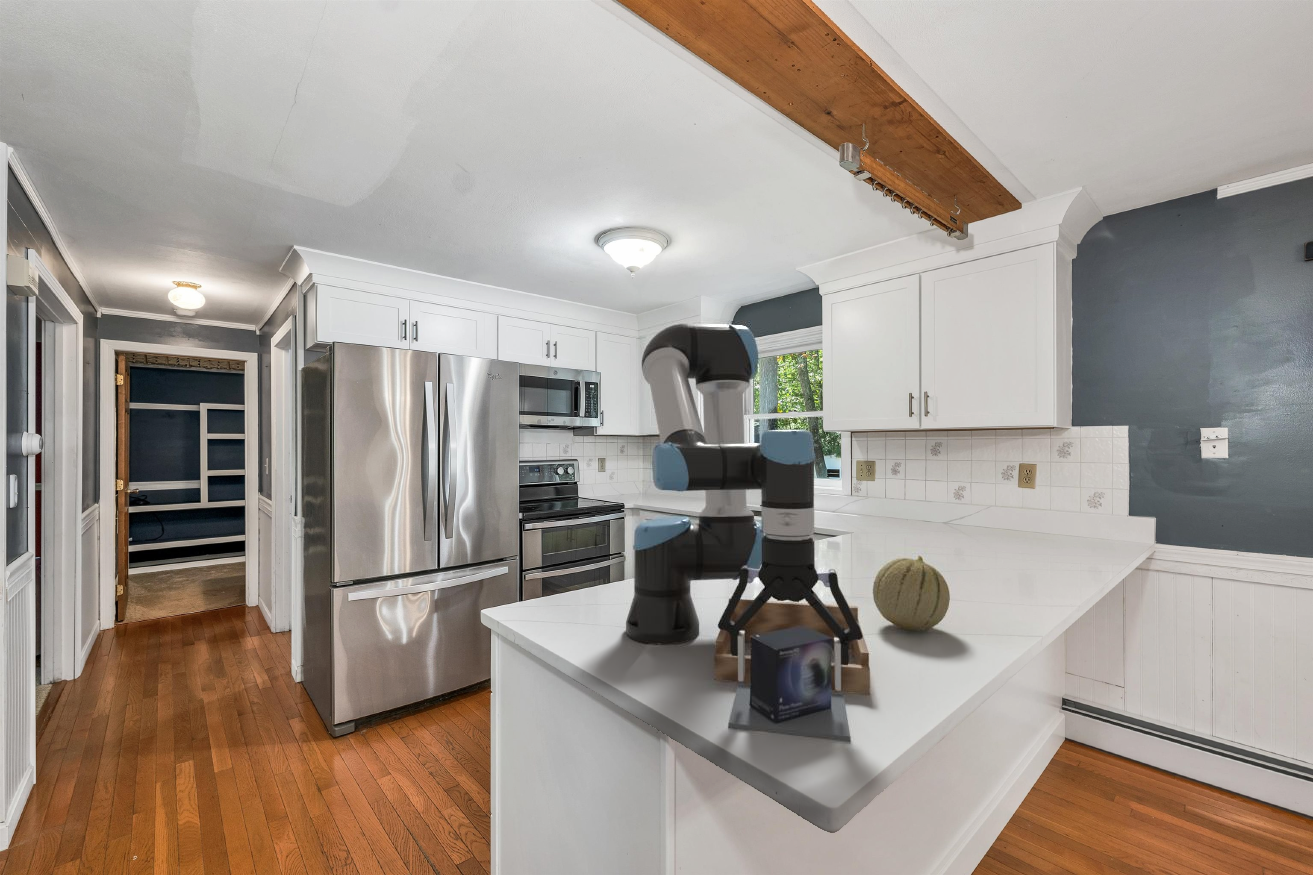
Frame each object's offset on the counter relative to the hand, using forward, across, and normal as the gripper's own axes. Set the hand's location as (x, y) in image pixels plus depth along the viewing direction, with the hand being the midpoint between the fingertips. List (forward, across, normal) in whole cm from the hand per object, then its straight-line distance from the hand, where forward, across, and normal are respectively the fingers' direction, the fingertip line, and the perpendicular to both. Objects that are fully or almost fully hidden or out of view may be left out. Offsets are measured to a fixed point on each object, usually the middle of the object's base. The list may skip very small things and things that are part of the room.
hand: (788, 682), depth 84 cm
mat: (+4, 0, 0) cm, 4 cm away
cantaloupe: (+4, +24, +44) cm, 50 cm away
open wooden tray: (+4, 0, +19) cm, 19 cm away
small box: (+4, 0, 0) cm, 4 cm away
